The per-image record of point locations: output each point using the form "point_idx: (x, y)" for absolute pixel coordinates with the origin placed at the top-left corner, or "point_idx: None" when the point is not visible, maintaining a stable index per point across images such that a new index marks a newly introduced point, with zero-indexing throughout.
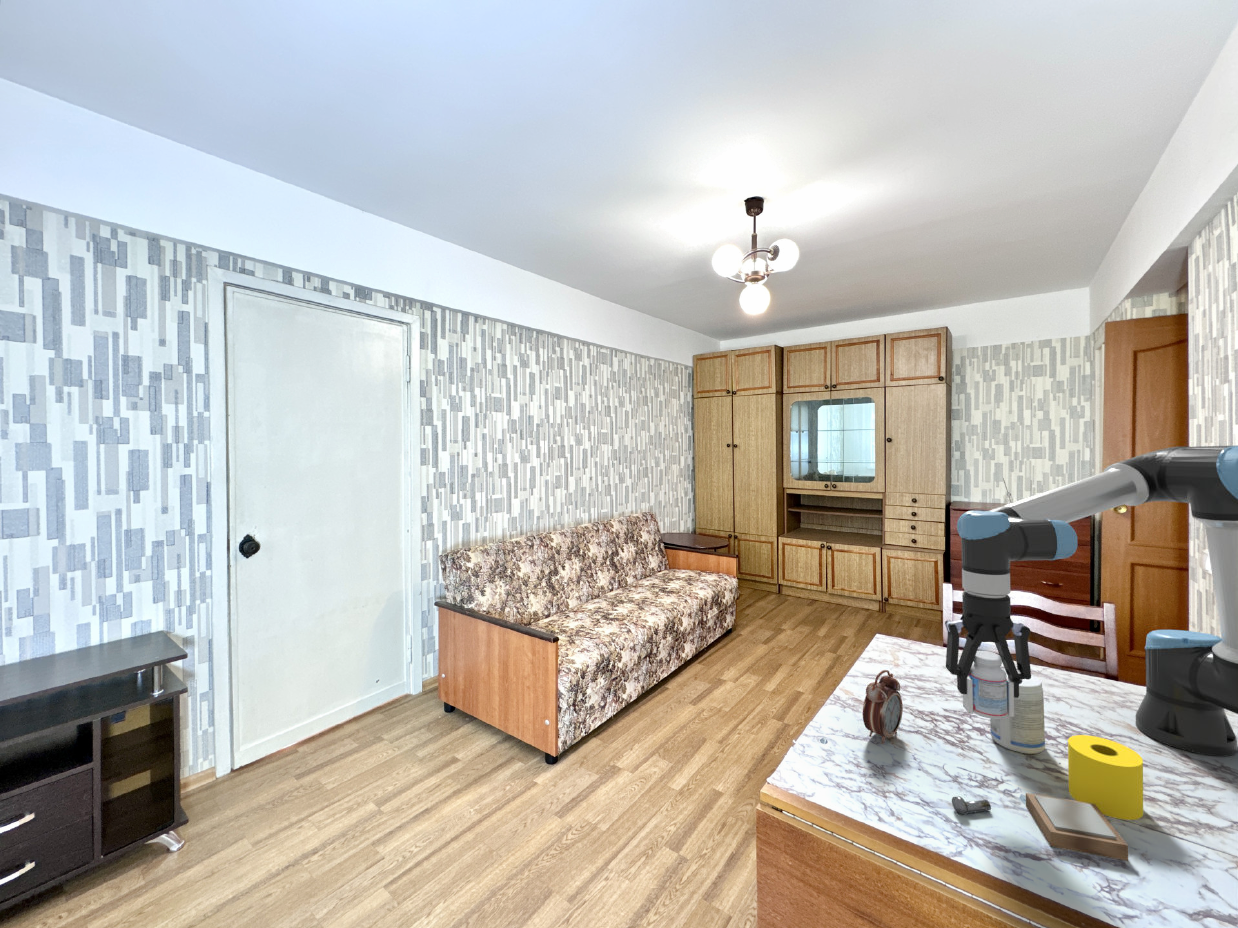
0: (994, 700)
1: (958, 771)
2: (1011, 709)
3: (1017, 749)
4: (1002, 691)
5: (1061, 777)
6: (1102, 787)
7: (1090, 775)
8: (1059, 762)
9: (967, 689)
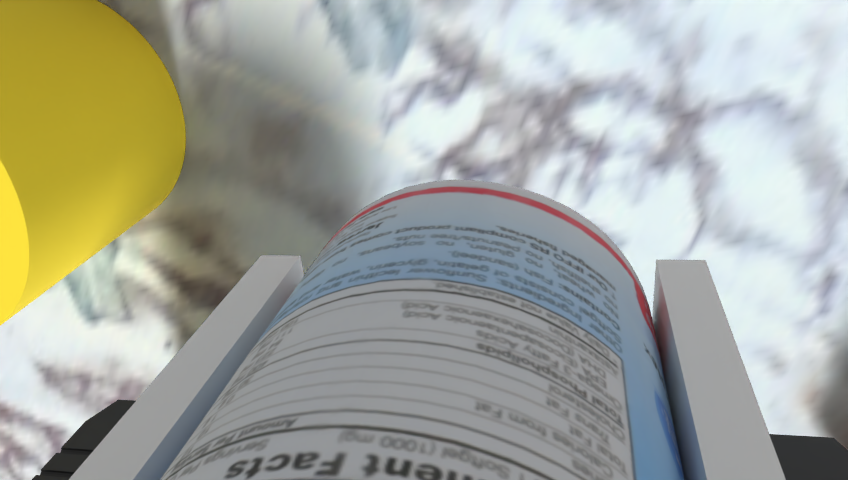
0: (425, 273)
1: (631, 207)
2: (253, 290)
3: None
4: (258, 376)
5: (187, 246)
6: (11, 23)
7: (25, 61)
8: (167, 349)
9: (773, 474)
